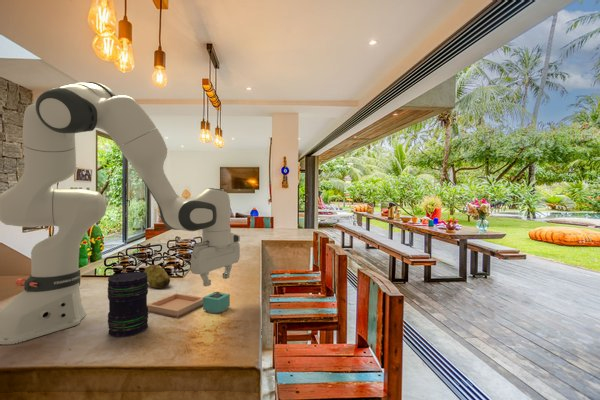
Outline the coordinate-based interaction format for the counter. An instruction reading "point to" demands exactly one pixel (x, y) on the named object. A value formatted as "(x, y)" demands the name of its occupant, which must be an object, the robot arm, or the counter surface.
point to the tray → (175, 305)
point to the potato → (157, 276)
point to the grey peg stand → (216, 295)
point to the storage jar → (127, 304)
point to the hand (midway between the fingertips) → (217, 281)
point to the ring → (216, 302)
